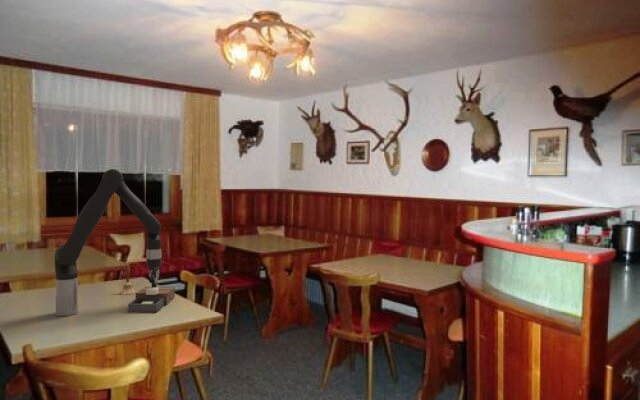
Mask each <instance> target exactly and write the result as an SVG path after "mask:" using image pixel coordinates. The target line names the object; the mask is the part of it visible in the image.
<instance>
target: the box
mask: <svg viewBox="0 0 640 400" xmlns="http://www.w3.org/2000/svg"><path fill="white" fill-rule="evenodd" d="M144 301H148V302H154V304H141V303H142V302H144ZM127 304H128V305H127V312H128V313H156V314H157V313H158V312H159V311H161V310H162V309H163V307H164V306H166V305H165V298H140V297H137V298H136V297H135V298H134V299H133V300H132V301H131V302H129V303H127Z"/></svg>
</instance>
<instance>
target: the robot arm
mask: <svg viewBox="0 0 640 400" xmlns="http://www.w3.org/2000/svg"><path fill="white" fill-rule="evenodd" d="M114 194H116V196H118V197H119V199H121V201H122V202H123V203H124V204H125V206H126V207H127V208H128V209H129V210H130V212H132V213H133V215H134V216H135V217H136V218H137V219H138V221H140V222H141V224H142V225H143V226H144V228H146V253H145V256H146V257H145V258H146V264H145V265H146V267H148V268H149V271H148V274H147V278H148V281H149V283H150V284H151V287H158V285H157V284H158V281H159V280H160V279H159V278H160V273H161V269H159V267H161V266H162V263H163V261H162V259H163V257H162V254H163V253H162V239H161V230H162V223H161V222H160V221H159V220H158V219H157V218H156V217H155V216H154V215H153V214H152V213H151V211H150V210H149V208H148V207H147V206H146V205H145V203H143V201H142V200H141V199H140V198H139V197H138V196H137V195H135V194H134V193H133V192H132V191H131V190H130V188H129V187H128V186H127V184H126V183H125V181H124V175H123V174H122V172H121V171H120V170H118V169H115V168H109V169H108V170H106V171H104V173H103V175H102V178H101V181H100V183H99V185H98V187H97V188H96V191H95V192H94V193H93V194H92V195H91V197H89V199H88V201H87V202H86V203H85V205H84V206H83V207H82V209H81V211H80V213H79V215H78V216H77V219H76V221H75V223H74V226H73V230H72V232H71V234H70V236H69V238H68V239H67V240H66V241H65V243H64V244H61V245H59V246H58V247H57V248H56V250H55V251H54V272H55V295H56V296H55V316H59V317H69V316H72V315H75V314H77V313H79V276H78V275H79V272H78V267H77V260H78V259H79V257H80V254H82V253H81V252H82V250H83V248H84V246H85V244H86V242H87V241H88V238H89V237H90V236H91V234H93V232H94V229H95V228H96V227H97V225H98V224H99V221H100V220H101V219H102V217H103V215H104V213H105V211H106V210H107V209H106V208H107V207H108V204H109V203H110V200H111V199H112V196H113V195H114Z"/></svg>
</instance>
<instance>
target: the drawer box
mask: <svg viewBox="0 0 640 400" xmlns="http://www.w3.org/2000/svg"><path fill="white" fill-rule="evenodd" d="M149 287H150V286H144V287H143V288H141V289H140V290H138V291H136V293H135V299H136V298H137V297H140V298H165V306H168V305H169V304H170V303H171V302H172V301H173V300H174V299H176V298H175V297H176V295H175V294H176V290H175V289H176V288H175V286H158V287H159V292H158V293H157V294H156V295H146V289H148V288H149Z"/></svg>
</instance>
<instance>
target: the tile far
mask: <svg viewBox="0 0 640 400" xmlns="http://www.w3.org/2000/svg"><path fill="white" fill-rule="evenodd" d="M148 287H149V288H148V289H146V295H156V294H157V293H158V292H159V287H160V286H157V287H152V286H148Z"/></svg>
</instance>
